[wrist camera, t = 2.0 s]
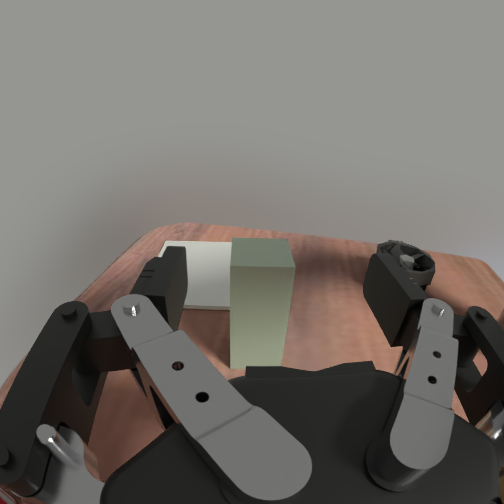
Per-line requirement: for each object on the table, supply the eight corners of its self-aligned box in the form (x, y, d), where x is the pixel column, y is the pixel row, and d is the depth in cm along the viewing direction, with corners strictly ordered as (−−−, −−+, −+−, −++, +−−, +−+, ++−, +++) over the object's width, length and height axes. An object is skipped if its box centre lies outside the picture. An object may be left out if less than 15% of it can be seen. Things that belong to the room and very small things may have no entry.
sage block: (275, 335, 32) (287, 239, 27) (280, 369, 28) (295, 267, 22) (231, 335, 32) (232, 237, 27) (230, 369, 28) (230, 265, 22)
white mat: (266, 246, 52) (266, 243, 52) (276, 310, 36) (277, 307, 36) (166, 243, 52) (166, 240, 51) (136, 305, 36) (135, 301, 35)
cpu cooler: (432, 280, 33) (367, 255, 39) (419, 314, 36) (358, 288, 42) (439, 253, 41) (386, 234, 46) (429, 283, 43) (378, 263, 49)
